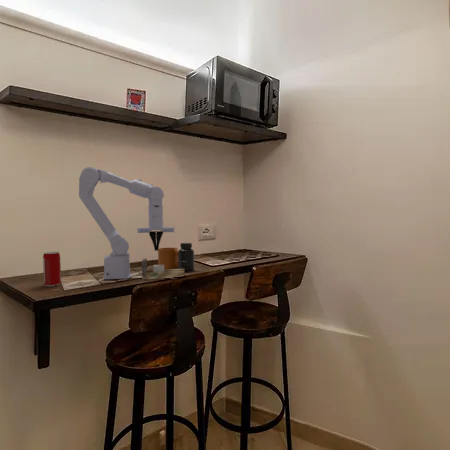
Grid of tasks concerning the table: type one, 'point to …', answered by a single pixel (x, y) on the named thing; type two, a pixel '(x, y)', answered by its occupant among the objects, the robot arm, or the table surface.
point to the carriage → (158, 268)
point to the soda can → (51, 268)
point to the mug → (168, 257)
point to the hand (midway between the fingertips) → (156, 250)
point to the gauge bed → (159, 275)
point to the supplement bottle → (186, 257)
